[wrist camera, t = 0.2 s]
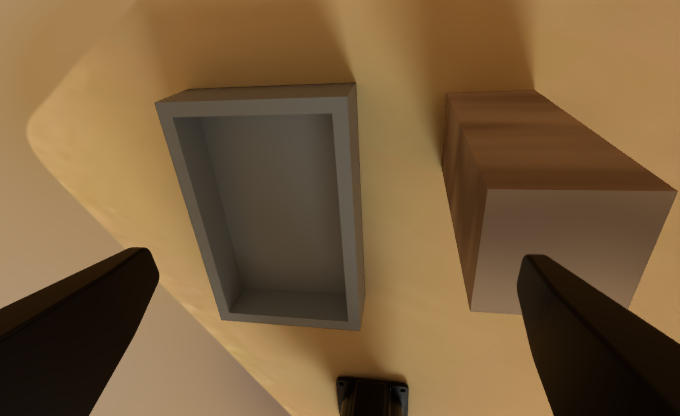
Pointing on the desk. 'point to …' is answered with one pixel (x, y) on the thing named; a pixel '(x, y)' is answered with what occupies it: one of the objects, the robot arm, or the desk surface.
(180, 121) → the tray
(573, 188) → the walnut block
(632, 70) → the desk surface
